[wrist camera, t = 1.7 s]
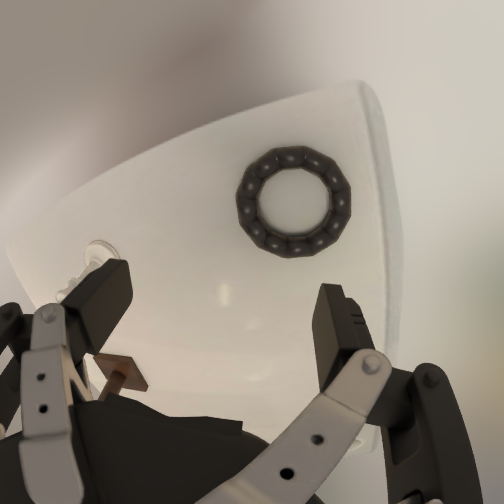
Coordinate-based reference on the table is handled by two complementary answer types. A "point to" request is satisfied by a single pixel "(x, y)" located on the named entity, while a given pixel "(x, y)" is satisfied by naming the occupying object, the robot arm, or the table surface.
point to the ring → (283, 161)
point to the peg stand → (119, 374)
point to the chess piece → (90, 264)
